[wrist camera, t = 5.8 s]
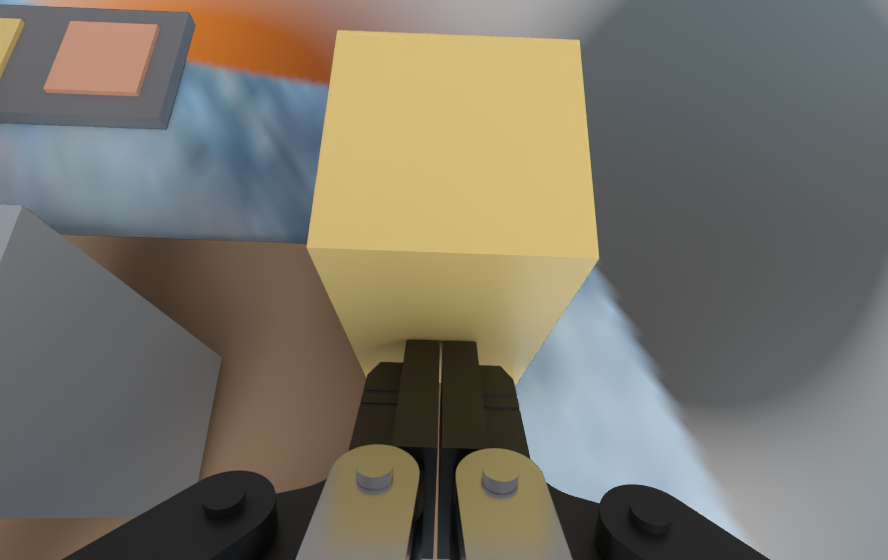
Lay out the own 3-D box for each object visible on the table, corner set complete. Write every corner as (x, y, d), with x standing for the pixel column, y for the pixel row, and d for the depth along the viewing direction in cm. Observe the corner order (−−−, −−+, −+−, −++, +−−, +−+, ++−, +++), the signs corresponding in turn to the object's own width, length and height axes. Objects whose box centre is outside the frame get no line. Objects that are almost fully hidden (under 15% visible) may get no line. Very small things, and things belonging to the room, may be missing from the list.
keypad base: (-439, 633, 13) (-503, 641, 12) (-217, 238, 17) (-253, 222, 17) (513, 660, 14) (519, 671, 13) (506, 264, 18) (511, 251, 17)
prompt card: (-120, 118, 19) (-141, 102, 19) (-64, 14, 21) (-82, -4, 21) (166, 129, 20) (155, 114, 19) (195, 25, 21) (187, 7, 21)
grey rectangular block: (25, 512, 13) (-467, 507, 6) (74, 352, 15) (-270, 193, 8) (190, 517, 13) (-97, 519, 6) (221, 357, 15) (21, 205, 8)
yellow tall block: (367, 380, 15) (306, 246, 8) (378, 247, 16) (337, 30, 9) (515, 385, 15) (598, 258, 8) (512, 252, 16) (579, 39, 9)
